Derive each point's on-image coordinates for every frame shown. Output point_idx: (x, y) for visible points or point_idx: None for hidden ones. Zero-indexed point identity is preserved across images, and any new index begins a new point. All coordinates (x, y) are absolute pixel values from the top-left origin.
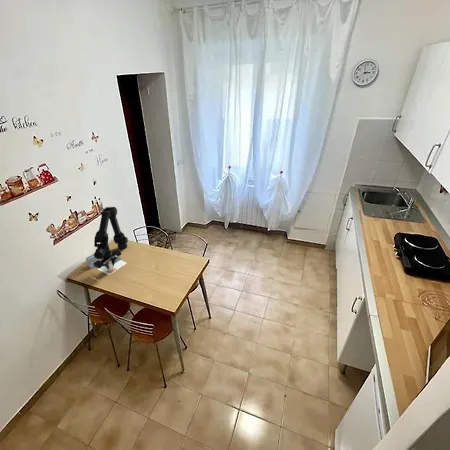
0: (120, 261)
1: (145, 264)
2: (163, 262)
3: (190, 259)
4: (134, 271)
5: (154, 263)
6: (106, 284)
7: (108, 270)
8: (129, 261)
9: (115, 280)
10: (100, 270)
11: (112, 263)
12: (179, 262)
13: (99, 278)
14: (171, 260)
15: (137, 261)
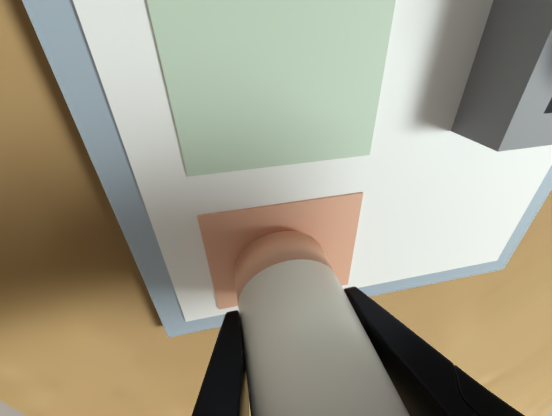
0: (526, 161)
1: (490, 350)
2: (520, 383)
3: (547, 412)
4: None
5: (507, 369)
6: (86, 396)
7: (247, 228)
8: (531, 233)
9: (200, 388)
10: (111, 75)
11: None
12: (522, 410)
13: (18, 267)
14: (541, 388)
15: (531, 287)
